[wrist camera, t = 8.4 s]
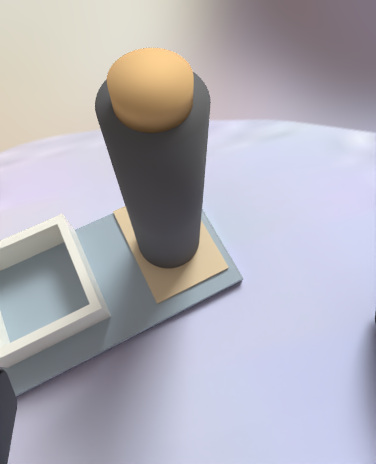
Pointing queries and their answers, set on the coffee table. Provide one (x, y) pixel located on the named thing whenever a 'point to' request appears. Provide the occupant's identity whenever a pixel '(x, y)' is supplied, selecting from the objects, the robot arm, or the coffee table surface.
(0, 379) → the robot arm
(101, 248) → the board
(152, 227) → the grey and orange cylinder
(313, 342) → the coffee table surface
